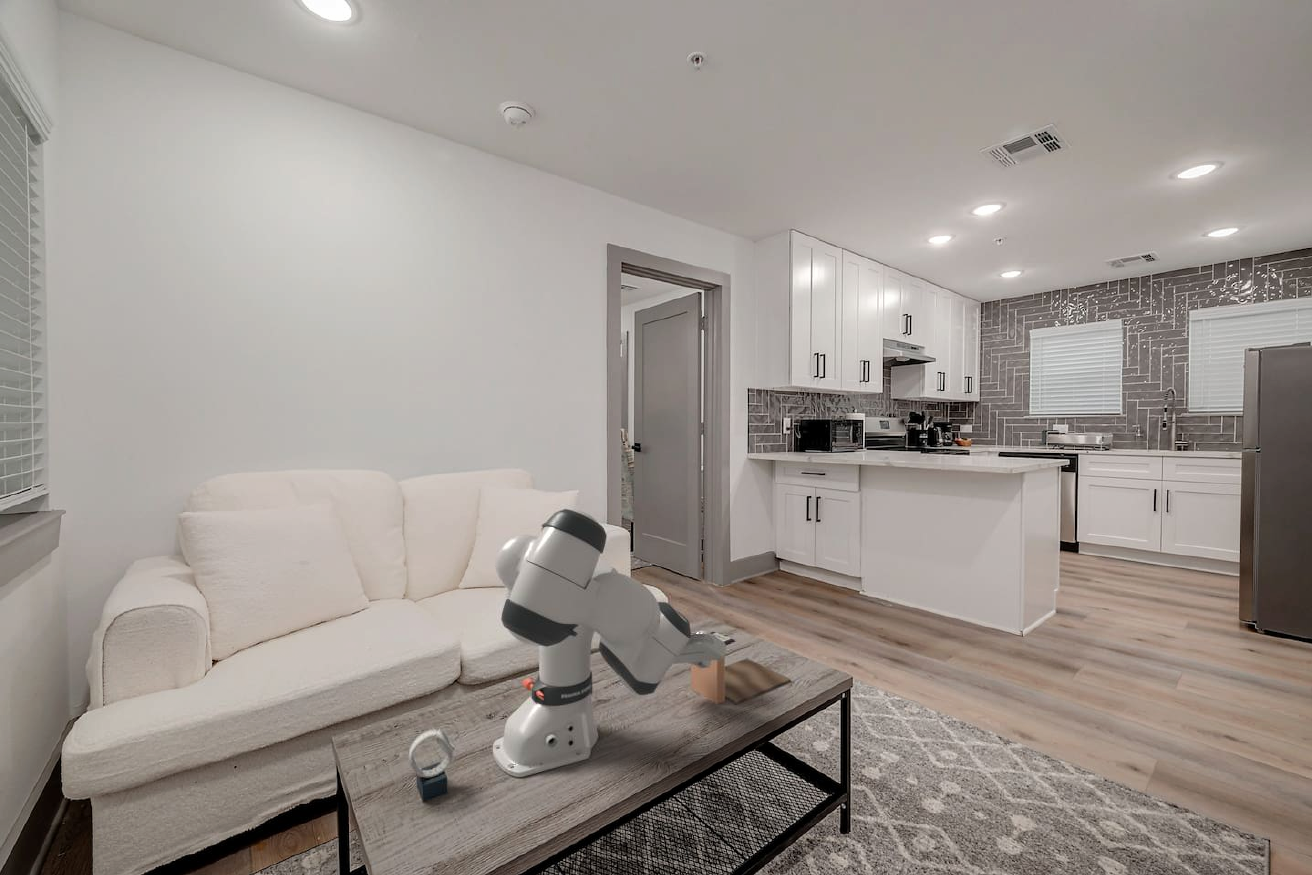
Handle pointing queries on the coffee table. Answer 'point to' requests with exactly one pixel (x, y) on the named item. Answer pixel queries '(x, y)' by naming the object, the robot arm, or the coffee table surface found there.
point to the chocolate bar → (723, 638)
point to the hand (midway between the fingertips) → (705, 665)
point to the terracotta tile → (710, 680)
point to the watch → (432, 767)
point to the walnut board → (749, 680)
